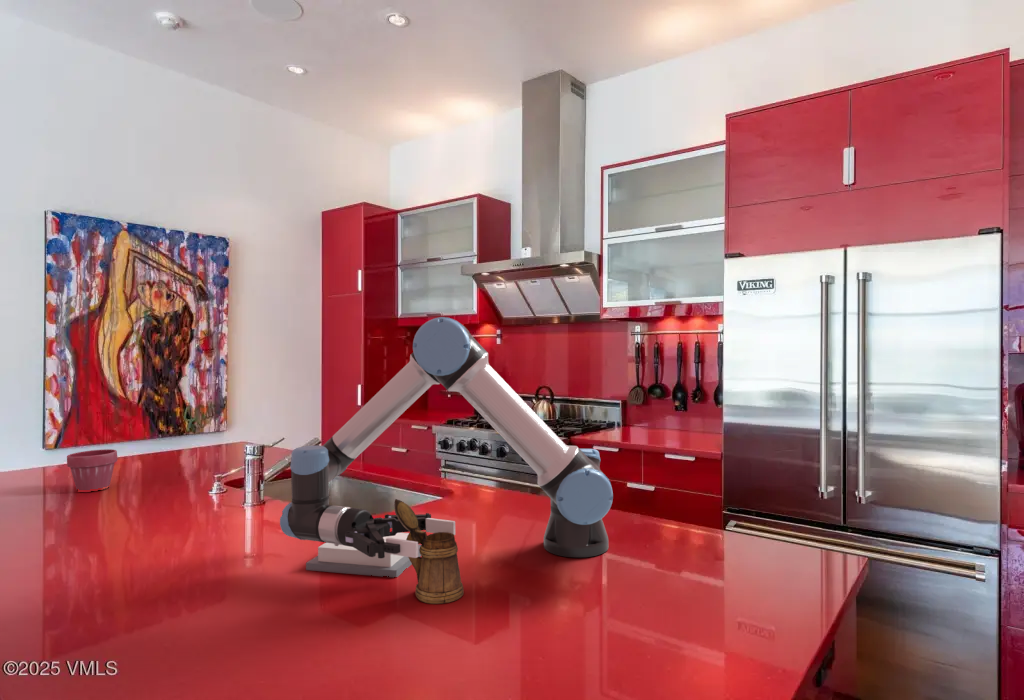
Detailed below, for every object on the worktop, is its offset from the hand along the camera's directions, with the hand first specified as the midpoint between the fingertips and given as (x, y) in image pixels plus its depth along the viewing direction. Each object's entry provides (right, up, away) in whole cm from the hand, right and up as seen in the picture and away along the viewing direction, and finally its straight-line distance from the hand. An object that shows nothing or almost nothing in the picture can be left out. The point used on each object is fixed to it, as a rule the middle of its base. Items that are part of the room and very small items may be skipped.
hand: (437, 538), depth 114 cm
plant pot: (-130, -12, +91) cm, 159 cm away
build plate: (-18, -11, +19) cm, 28 cm away
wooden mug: (-2, -11, +1) cm, 11 cm away
